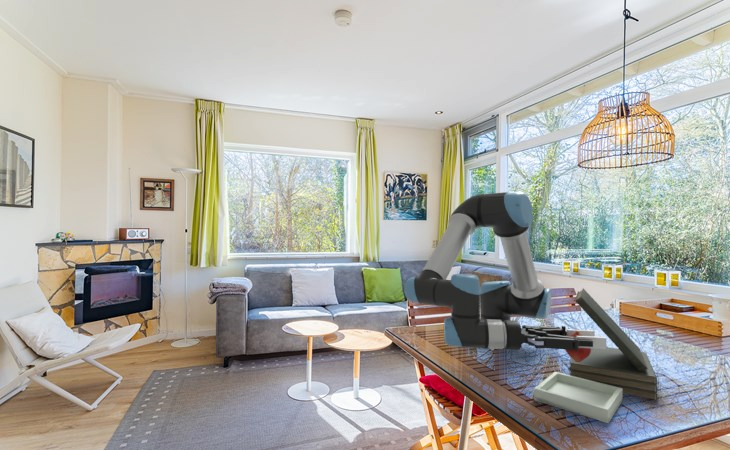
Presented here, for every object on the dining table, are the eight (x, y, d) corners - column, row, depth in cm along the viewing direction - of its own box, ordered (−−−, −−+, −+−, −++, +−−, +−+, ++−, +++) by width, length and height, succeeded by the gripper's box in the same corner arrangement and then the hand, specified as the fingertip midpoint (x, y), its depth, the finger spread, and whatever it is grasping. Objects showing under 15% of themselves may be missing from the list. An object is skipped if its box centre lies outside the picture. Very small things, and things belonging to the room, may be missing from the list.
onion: (559, 358, 95) (559, 327, 95) (580, 357, 95) (580, 327, 95) (574, 366, 89) (574, 333, 89) (596, 365, 89) (595, 333, 89)
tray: (534, 400, 92) (534, 388, 92) (555, 382, 103) (555, 371, 103) (608, 423, 80) (608, 409, 81) (622, 400, 92) (622, 388, 92)
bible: (657, 401, 92) (655, 303, 92) (569, 384, 102) (567, 296, 103) (647, 372, 111) (645, 291, 112) (574, 360, 122) (572, 286, 122)
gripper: (497, 339, 104) (584, 343, 100) (511, 360, 86) (618, 367, 82) (496, 313, 105) (583, 316, 100) (511, 329, 86) (618, 334, 82)
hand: (599, 339), depth 91 cm, fingers closed on onion, 6 cm apart
